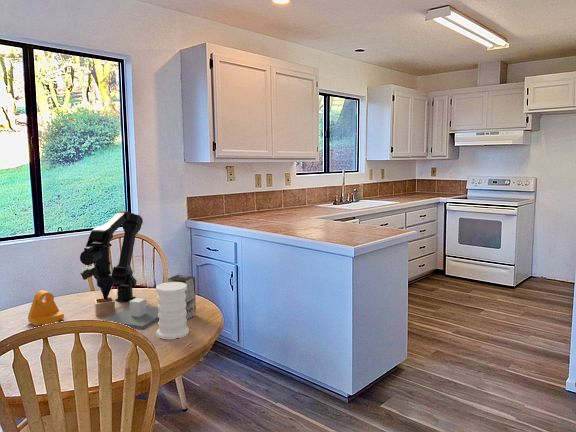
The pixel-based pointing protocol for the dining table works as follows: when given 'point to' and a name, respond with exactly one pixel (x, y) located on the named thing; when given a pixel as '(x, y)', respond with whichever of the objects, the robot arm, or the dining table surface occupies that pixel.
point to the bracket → (44, 309)
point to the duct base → (136, 320)
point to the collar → (104, 306)
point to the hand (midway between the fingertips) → (104, 296)
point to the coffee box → (187, 293)
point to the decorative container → (172, 310)
